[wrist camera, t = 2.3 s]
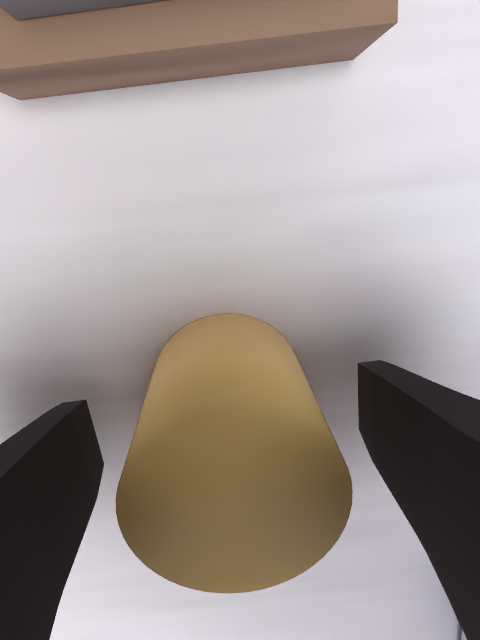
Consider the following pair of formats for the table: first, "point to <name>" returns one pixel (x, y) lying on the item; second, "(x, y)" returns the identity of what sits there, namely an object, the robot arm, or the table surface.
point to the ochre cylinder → (231, 463)
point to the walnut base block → (181, 42)
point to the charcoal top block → (59, 6)
